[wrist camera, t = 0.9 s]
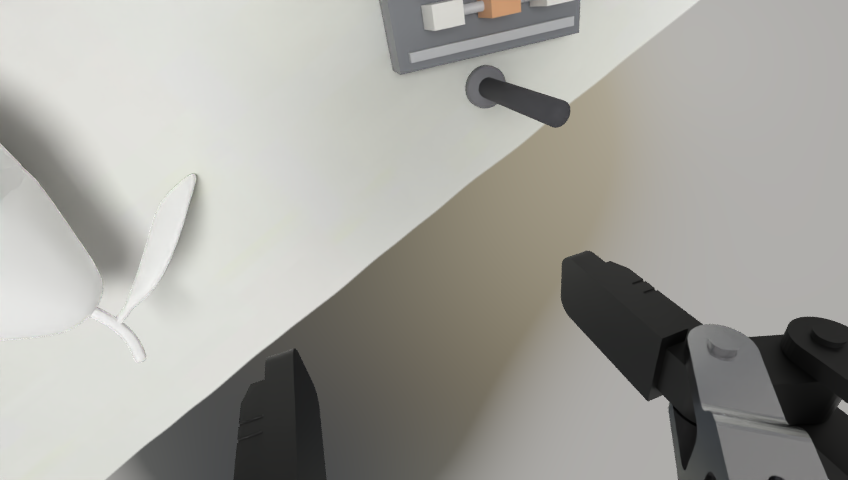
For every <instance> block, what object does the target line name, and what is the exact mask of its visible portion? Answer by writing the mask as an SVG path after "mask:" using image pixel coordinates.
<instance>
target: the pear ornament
mask: <svg viewBox="0 0 848 480" xmlns="http://www.w3.org/2000/svg"><path fill="white" fill-rule="evenodd" d="M196 179H197V178H196V175H195V174H190V175H188V176H187V177H185V178H184V179H182V180H181V181H180V182H179V183H178V184H176V185H175V186H174V187H173V188H172V189H171V190H170V191H169V192H168V193H167V195H166V196H165V197H164V199H163V200H162V201H161V203H160V205H159V207H158V209H157V211H156V213H155V216H154V219H153V222H152V225H151V228H150V232H149V235H148V239H147V242H146V246H145V249H144V253H143V256H142V259H141V262H140V266H139V268H138V271H137V274H136V277H135V280H134V283H133V286H132V288H131V291H130V293H129V296H128V298H127V301H126V303H125V306H124V308H123V309H122V310H121V312H120V313H119V314H118V315H117V316H116V317H114V316H113V315H111V314H109V313H107V312H106V311H104V310H102V309H100V308H98V307H97V306H98V304H99V302H100V300H101V298H102V294H103V281H102V278H101V275H100V273H99V271H98V269H97V267H96V265H95V263H94V261H93V260H92V258H91V257H90V255H89V254H88V252H87V251H86V249H85V248H84V246H83V245H82V243H81V242H80V240H79V239H78V237H77V236H76V235H75V233H74V232H73V230H72V229H71V227H70V226H69V224H68V223H67V221H66V220H65V219H64V217H63V216H62V214H61V213H60V211H59V210H58V208H57V207H56V206H55V204H54V203H53V201H52V200H51V199H50V197H49V196H48V194H47V193H46V192H45V190H44V189H43V188H42V186H41V185H40V184H39V182H38V181H37V180H36V179H35V178H34V177H33V176H32V175H31V174H30V173H29V172H28V171H27V170H26V169H25V168H24V167H22V165H21V164H20V163H19V162H18V161H17V160H16V159H15V158H14V157H13V156H12V155H11V154H10V153H9V152H8V151H7V150H6V149H5V148H4V147H3V145H2V144H1V143H0V341H1V340H16V339H29V338H37V337H45V336H50V335H55V334H60V333H63V332H66V331H68V330H71V329H73V328H75V327H77V326H78V325H80V324H81V323H82V322H84V321H85V320H86V319H87V318H88V317H89V318H92V319H94V320H96V321H98V322H100V323H102V324H104V325H106V326H107V327H109V328H110V329H112V330H113V331H114V332H116V333H117V334H118V335H119V336H120V337H121V338H122V339H123V340H124V341H125V342H126V344H127V345H128V347H129V349H130V351H131V353H132V356H133V358H134V361H135V362H137V363H140V362H143V361H145V360H146V354H145V351H144V348H143V346H142V344H141V342H140V340H139V339H138V337H137V336H136V334H135V333H134V332H133V331H132V330H131V329H130V328H129V327H128V326H127V325H125V324H124V323H123V322H124V320H125V319H126V318H127V316H128V315H129V314H130V312H131V311H132V310H133V309H134V308H135V307H136V306H137V305H138V304H139V303H141V302H142V301H143V300H144V299H145V298H146V297H147V296H148V295H149V294H150V293H151V292H152V290H153V289H154V288H155V287H156V286H157V284H158V283H159V281H160V279H161V278H162V276H163V275H164V273H165V271H166V269H167V267H168V265H169V262H170V260H171V258H172V256H173V253H174V250H175V248H176V245H177V243H178V240H179V237H180V234H181V231H182V228H183V225H184V222H185V219H186V215H187V212H188V208H189V205H190V201H191V198H192V194H193V191H194V187H195V184H196Z"/></svg>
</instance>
